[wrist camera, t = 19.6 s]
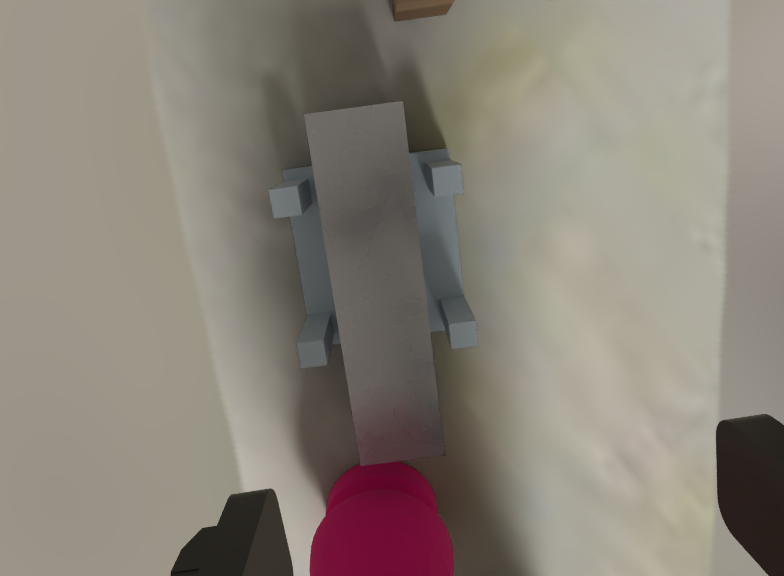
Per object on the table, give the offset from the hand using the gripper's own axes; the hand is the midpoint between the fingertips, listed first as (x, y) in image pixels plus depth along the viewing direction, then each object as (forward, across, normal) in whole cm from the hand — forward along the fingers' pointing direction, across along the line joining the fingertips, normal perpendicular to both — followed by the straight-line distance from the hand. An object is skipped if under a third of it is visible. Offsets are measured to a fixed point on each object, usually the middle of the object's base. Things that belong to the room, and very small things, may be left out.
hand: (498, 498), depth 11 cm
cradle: (+21, +2, -1) cm, 21 cm away
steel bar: (+20, +2, 0) cm, 20 cm away
